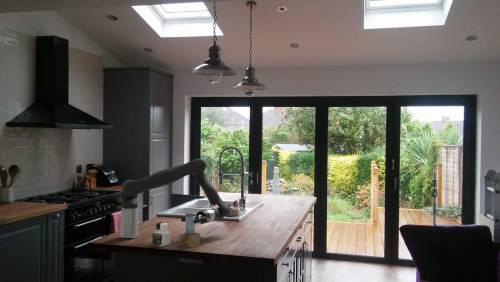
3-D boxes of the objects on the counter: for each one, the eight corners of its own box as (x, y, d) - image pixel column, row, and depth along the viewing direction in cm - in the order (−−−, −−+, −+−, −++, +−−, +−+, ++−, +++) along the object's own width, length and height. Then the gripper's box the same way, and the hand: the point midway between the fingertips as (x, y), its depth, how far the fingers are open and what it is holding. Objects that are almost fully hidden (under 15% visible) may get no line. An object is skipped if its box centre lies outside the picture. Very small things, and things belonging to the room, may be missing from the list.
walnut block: (179, 245, 228) (179, 234, 228) (188, 242, 235) (188, 231, 235) (191, 247, 224) (191, 236, 224) (200, 244, 231) (200, 233, 231)
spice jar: (183, 234, 229) (183, 213, 229) (189, 232, 234) (189, 212, 233) (191, 235, 226) (191, 214, 226) (196, 233, 231) (196, 213, 231)
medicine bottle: (152, 245, 228) (152, 222, 228) (161, 242, 234) (162, 221, 234) (161, 247, 224) (161, 224, 224) (171, 244, 230) (171, 222, 230)
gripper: (195, 208, 246) (177, 212, 232) (215, 211, 239) (198, 215, 225) (195, 221, 246) (177, 226, 232) (215, 224, 239) (198, 229, 225)
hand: (188, 220), depth 228 cm, fingers open, 8 cm apart
